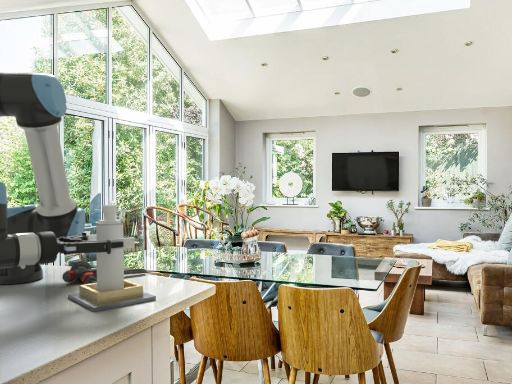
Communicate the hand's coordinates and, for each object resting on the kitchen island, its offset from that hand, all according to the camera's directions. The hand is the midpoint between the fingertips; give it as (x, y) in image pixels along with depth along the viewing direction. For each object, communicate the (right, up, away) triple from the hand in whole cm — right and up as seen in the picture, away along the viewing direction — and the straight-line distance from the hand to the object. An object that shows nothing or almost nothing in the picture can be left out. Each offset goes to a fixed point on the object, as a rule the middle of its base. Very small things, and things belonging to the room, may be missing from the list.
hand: (122, 240), depth 121 cm
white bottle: (-2, -14, -2) cm, 15 cm away
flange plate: (-2, -15, -2) cm, 15 cm away
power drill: (-10, -15, +21) cm, 28 cm away
